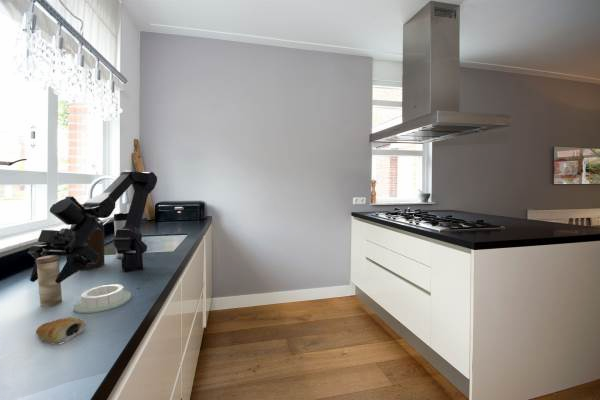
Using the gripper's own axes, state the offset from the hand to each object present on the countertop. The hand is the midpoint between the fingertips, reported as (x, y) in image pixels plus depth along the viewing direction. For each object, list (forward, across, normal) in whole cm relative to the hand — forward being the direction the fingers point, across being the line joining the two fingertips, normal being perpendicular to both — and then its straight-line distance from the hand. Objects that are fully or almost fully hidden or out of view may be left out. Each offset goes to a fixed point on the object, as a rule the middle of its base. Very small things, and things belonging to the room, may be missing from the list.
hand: (44, 281), depth 75 cm
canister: (+4, 0, +6) cm, 7 cm away
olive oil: (-18, -20, +28) cm, 38 cm away
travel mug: (-28, -17, +38) cm, 50 cm away
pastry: (+14, +19, -3) cm, 24 cm away
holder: (+2, +14, +8) cm, 16 cm away
